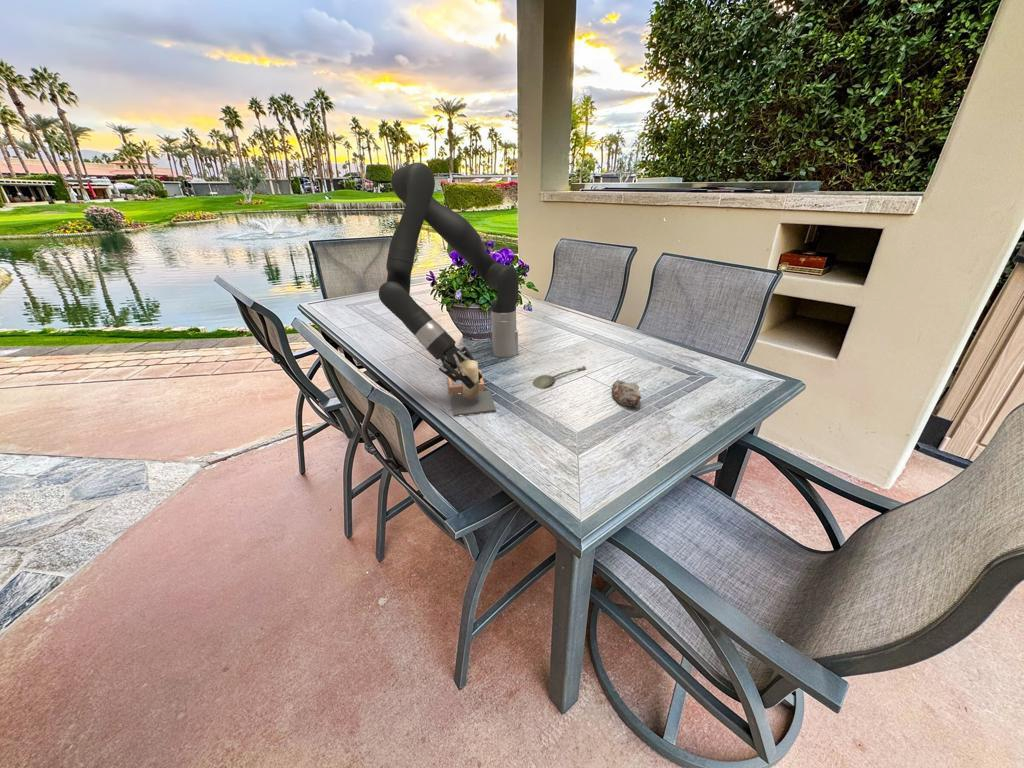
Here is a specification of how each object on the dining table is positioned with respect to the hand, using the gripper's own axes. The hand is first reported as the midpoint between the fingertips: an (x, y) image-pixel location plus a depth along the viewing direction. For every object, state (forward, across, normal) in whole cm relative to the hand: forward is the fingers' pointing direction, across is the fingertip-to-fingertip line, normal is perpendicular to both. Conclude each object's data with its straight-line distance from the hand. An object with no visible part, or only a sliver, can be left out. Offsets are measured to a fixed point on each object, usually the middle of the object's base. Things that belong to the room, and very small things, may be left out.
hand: (476, 382), depth 113 cm
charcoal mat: (+4, 0, +6) cm, 8 cm away
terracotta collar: (-1, +11, +12) cm, 16 cm away
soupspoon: (+19, +25, -8) cm, 32 cm away
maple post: (+2, 0, +4) cm, 5 cm away
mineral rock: (+34, +17, -24) cm, 45 cm away
